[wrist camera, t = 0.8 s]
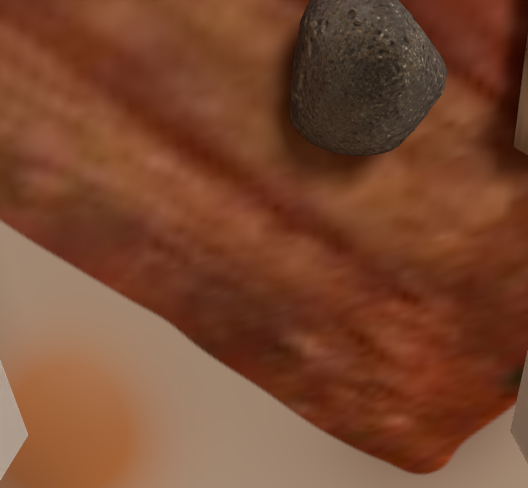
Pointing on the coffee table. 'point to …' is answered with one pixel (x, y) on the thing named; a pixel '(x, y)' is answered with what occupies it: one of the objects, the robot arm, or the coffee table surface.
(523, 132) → the cream and green rack
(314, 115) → the stone
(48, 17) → the coffee table surface
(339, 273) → the coffee table surface
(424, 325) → the coffee table surface
